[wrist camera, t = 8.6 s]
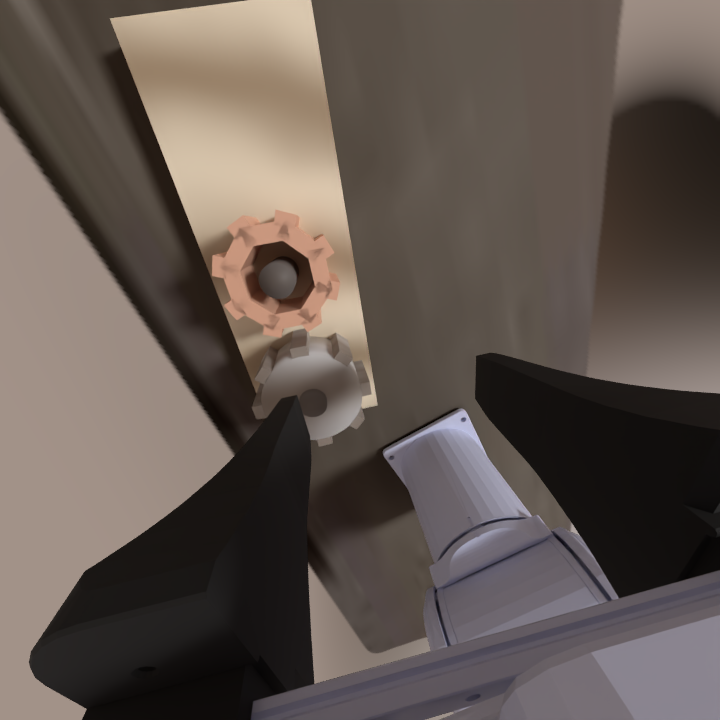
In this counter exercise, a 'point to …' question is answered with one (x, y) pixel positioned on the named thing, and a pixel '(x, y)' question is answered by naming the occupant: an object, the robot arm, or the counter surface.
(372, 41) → the counter surface
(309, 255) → the gear
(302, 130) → the board
